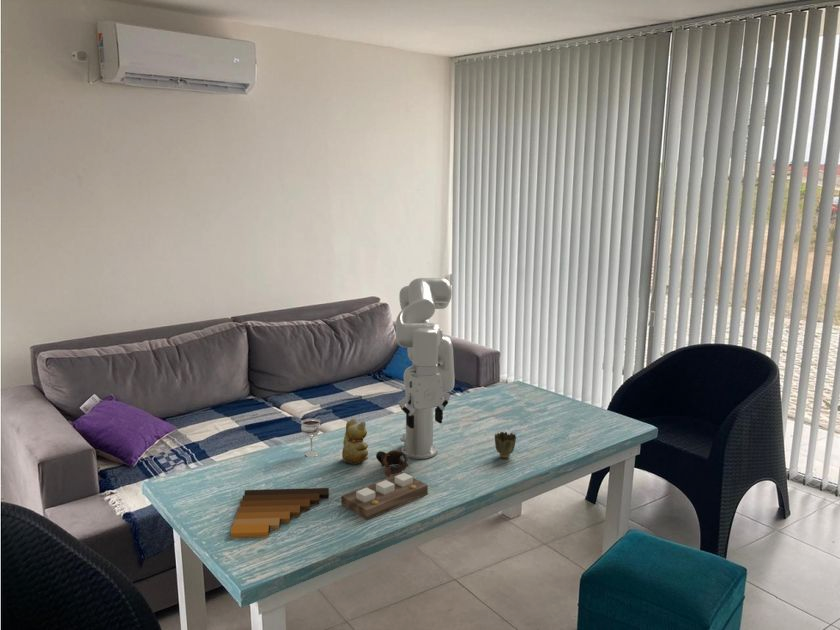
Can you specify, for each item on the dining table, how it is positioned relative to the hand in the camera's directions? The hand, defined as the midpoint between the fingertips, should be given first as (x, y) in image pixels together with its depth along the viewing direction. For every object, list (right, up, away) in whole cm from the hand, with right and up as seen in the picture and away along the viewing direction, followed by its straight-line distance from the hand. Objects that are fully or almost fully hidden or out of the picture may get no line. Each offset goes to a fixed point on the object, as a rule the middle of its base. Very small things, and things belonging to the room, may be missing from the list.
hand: (424, 424), depth 212 cm
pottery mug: (-11, -19, +20) cm, 30 cm away
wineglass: (-39, -16, +33) cm, 54 cm away
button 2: (-6, -19, +5) cm, 21 cm away
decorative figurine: (-24, -17, +27) cm, 40 cm away
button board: (-12, -23, 0) cm, 26 cm away
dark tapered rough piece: (+28, -17, +32) cm, 45 cm away
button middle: (-12, -20, 0) cm, 24 cm away
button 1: (-17, -21, -5) cm, 28 cm away
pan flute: (-41, -25, -9) cm, 49 cm away
